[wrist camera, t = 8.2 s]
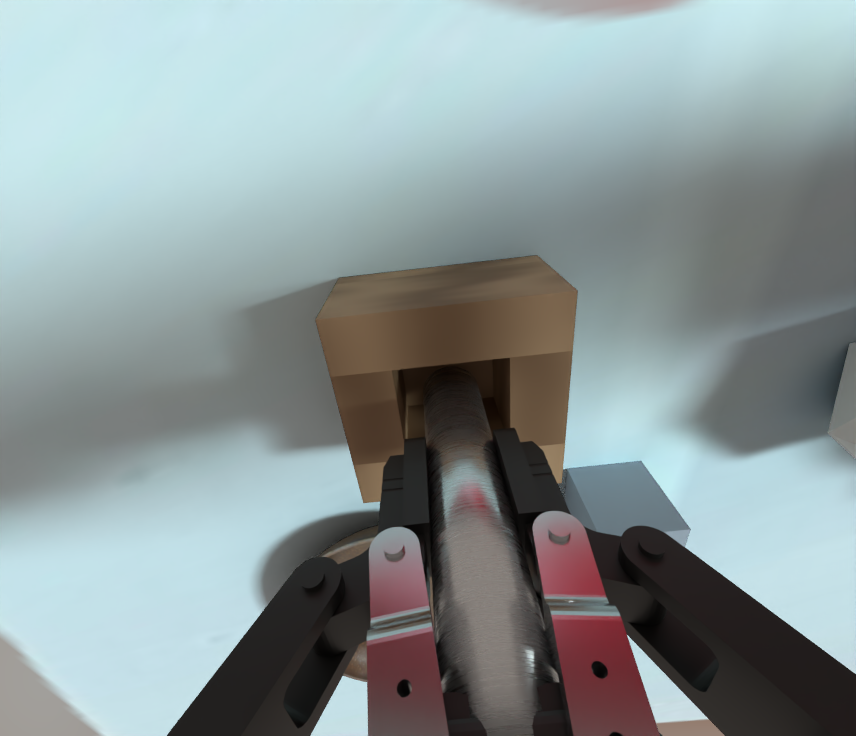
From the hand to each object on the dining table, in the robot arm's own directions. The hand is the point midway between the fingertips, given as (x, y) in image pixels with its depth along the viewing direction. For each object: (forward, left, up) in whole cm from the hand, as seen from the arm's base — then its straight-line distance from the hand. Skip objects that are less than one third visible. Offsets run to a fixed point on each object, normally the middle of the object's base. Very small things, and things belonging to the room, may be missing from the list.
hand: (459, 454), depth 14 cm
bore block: (0, 0, -7) cm, 7 cm away
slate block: (-9, +11, -8) cm, 16 cm away
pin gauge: (0, 0, -4) cm, 4 cm away
